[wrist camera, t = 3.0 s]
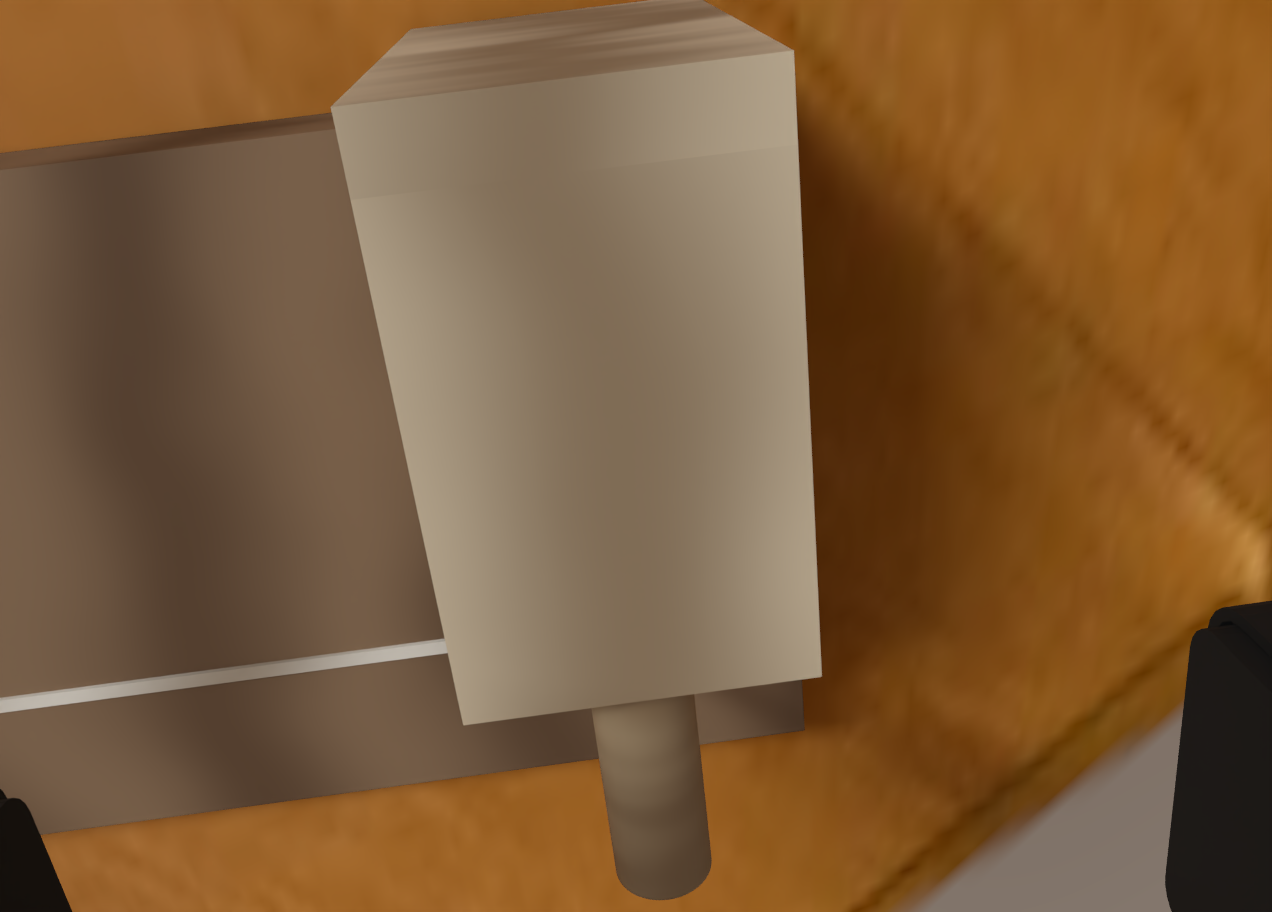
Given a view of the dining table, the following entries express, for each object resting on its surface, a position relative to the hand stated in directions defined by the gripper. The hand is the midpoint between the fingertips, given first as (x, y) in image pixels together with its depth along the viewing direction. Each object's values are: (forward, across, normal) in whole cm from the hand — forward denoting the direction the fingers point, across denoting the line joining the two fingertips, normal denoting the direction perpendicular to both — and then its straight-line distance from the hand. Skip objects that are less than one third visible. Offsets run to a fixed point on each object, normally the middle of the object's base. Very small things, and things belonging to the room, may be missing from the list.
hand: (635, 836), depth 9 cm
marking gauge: (+15, 0, +1) cm, 15 cm away
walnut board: (+15, +8, +3) cm, 17 cm away
